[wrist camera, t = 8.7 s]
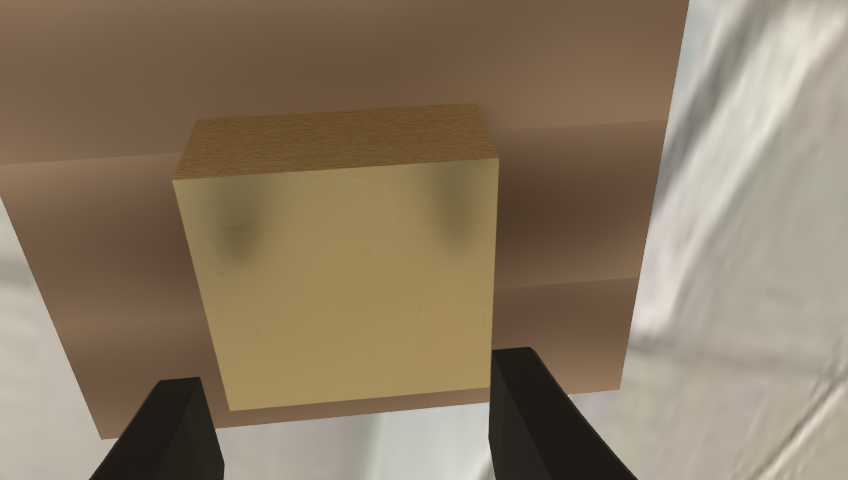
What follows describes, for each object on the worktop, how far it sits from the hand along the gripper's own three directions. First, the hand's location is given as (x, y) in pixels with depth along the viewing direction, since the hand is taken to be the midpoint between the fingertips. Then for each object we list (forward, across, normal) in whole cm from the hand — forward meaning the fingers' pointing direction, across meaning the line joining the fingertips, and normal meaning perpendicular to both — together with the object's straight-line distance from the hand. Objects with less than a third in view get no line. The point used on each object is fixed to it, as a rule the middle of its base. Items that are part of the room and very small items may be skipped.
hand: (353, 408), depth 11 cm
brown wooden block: (+9, 0, 0) cm, 9 cm away
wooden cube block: (+9, 0, 0) cm, 9 cm away
